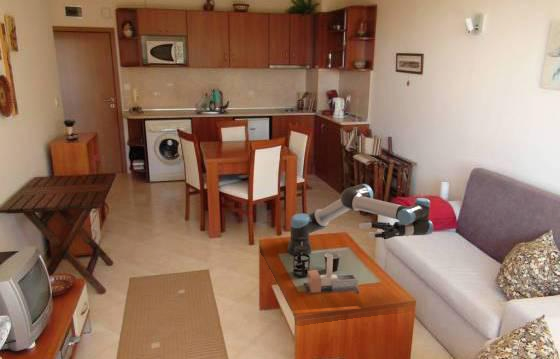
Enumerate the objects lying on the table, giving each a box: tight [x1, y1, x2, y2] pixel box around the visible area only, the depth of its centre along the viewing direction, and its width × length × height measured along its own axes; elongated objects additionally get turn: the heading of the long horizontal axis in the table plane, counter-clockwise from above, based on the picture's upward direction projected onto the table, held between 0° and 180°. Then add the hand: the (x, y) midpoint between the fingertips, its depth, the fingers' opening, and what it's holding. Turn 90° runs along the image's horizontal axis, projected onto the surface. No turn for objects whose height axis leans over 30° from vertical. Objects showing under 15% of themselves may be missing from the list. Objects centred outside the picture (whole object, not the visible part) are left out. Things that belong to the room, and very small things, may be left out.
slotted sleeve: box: [302, 273, 360, 295], centre depth 234 cm, size 12×27×6 cm, turn 99°
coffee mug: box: [324, 252, 341, 273], centre depth 256 cm, size 12×9×10 cm
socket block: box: [306, 269, 321, 293], centre depth 232 cm, size 10×5×8 cm, turn 9°
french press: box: [292, 237, 311, 279], centre depth 247 cm, size 12×9×23 cm
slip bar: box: [319, 254, 338, 286], centre depth 232 cm, size 4×12×16 cm, turn 99°
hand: (363, 230), depth 230 cm, fingers open, 13 cm apart
